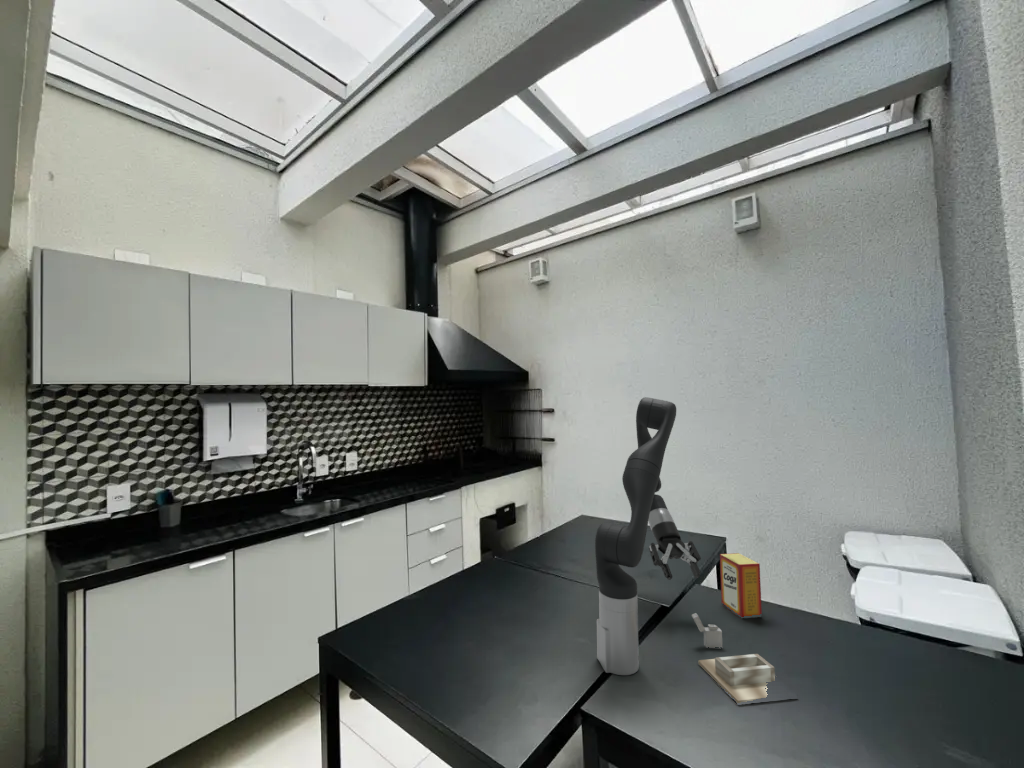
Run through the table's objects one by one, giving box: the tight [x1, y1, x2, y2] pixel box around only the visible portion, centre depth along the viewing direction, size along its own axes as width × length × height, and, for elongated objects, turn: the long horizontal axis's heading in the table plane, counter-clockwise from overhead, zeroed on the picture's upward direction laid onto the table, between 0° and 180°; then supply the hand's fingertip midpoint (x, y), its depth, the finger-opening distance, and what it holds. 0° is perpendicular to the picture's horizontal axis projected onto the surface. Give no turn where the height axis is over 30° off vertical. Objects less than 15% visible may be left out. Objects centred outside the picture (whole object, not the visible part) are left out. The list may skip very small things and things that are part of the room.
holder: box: [697, 653, 776, 703], centre depth 93 cm, size 14×14×4 cm
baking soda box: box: [719, 552, 763, 617], centre depth 126 cm, size 10×6×16 cm
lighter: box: [691, 612, 723, 649], centre depth 107 cm, size 7×2×8 cm, turn 85°
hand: (684, 577), depth 118 cm, fingers open, 8 cm apart
